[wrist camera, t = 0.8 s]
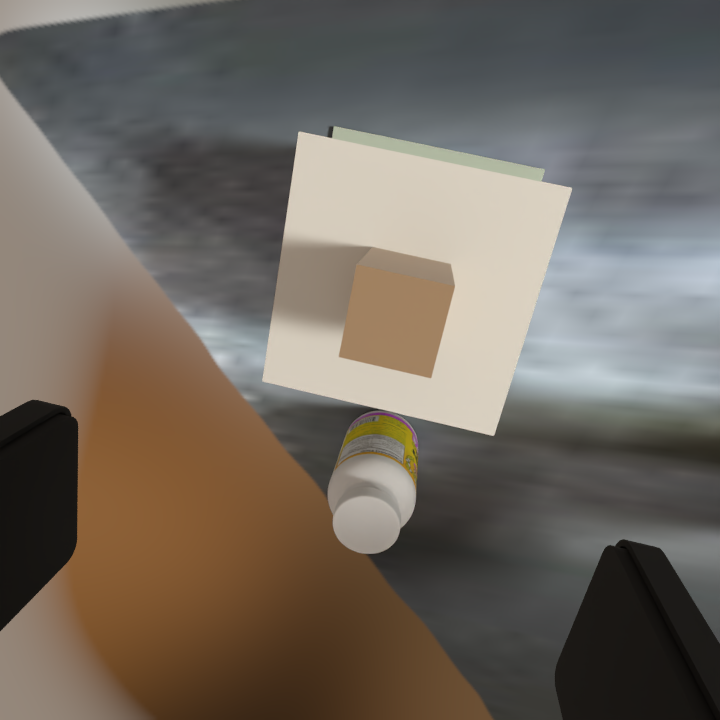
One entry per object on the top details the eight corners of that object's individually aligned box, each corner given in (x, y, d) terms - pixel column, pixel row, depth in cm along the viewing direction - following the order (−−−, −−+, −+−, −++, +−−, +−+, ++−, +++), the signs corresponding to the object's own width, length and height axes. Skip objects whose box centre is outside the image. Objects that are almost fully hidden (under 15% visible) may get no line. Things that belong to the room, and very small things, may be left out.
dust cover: (520, 185, 40) (612, 190, 19) (473, 349, 45) (508, 496, 24) (348, 149, 41) (260, 117, 20) (319, 314, 45) (222, 427, 25)
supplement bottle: (403, 483, 50) (394, 580, 38) (336, 458, 50) (305, 547, 38) (430, 422, 48) (429, 504, 35) (359, 396, 48) (334, 469, 36)
